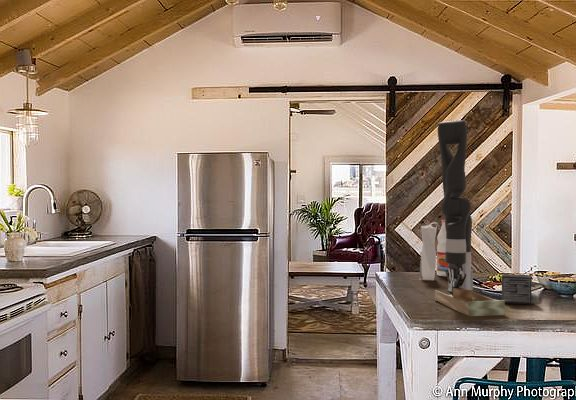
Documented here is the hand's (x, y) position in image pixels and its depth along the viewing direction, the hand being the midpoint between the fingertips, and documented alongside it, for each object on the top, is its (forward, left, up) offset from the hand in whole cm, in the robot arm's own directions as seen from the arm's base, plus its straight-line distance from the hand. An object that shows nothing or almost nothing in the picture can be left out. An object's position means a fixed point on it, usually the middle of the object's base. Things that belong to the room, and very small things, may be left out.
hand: (455, 296), depth 213 cm
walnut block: (0, +5, -1) cm, 5 cm away
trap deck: (-3, +4, -3) cm, 6 cm away
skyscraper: (-15, -58, -4) cm, 60 cm away
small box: (-26, -1, -4) cm, 26 cm away
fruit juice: (-29, -68, -4) cm, 74 cm away
